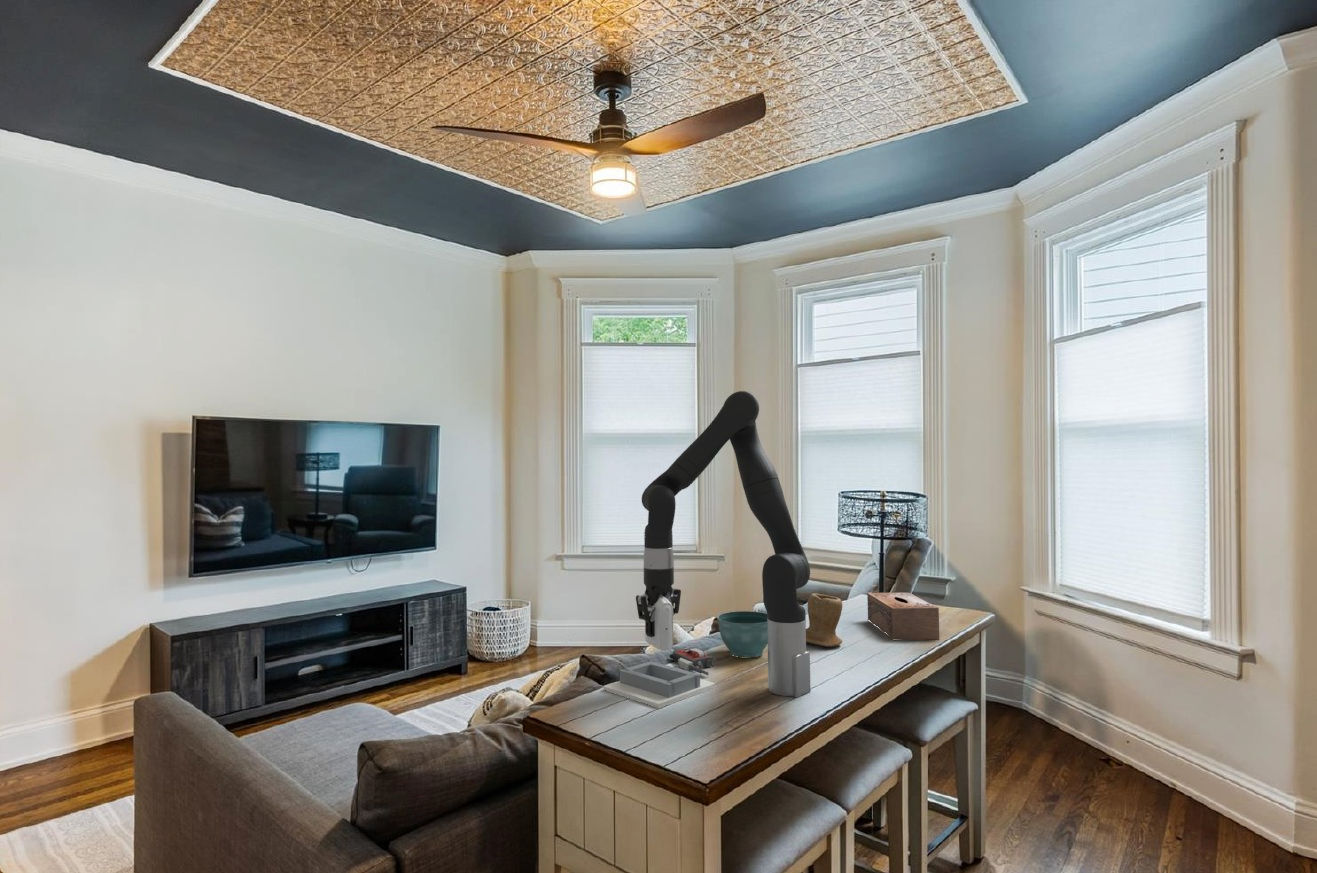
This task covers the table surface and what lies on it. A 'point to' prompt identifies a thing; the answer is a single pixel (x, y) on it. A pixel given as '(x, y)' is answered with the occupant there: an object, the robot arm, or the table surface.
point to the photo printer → (662, 625)
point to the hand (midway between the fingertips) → (659, 633)
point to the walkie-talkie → (692, 659)
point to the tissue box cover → (903, 616)
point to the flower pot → (744, 632)
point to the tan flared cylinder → (823, 620)
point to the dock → (652, 696)
